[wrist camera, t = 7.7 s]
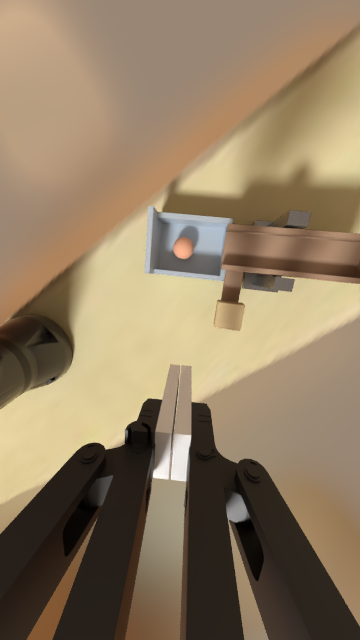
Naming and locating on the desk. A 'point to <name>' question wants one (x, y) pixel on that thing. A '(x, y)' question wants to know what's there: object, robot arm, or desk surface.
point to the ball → (183, 247)
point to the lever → (282, 261)
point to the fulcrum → (275, 281)
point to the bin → (199, 230)
